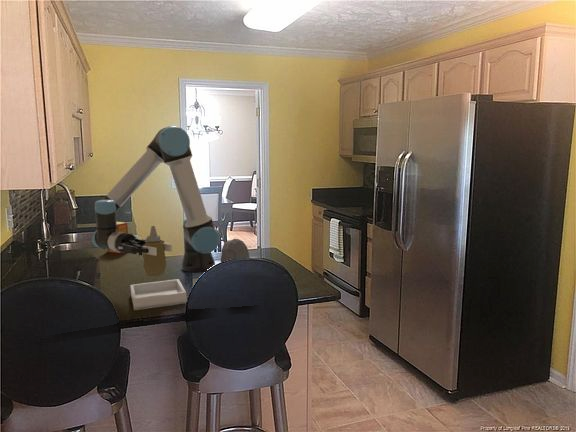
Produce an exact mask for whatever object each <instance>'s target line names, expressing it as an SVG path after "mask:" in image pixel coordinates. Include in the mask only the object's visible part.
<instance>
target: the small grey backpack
mask: <svg viewBox="0 0 576 432" xmlns="http://www.w3.org/2000/svg"><path fill="white" fill-rule="evenodd" d="M236 258H249V259H250V252H249V248H248V247H247V245H246V244H245V243H244V241H243V240H241V239H239V238H233V239H230V240H227V241H226V242H224V243H223V245H222V248H221V255H220V263H221V262H224V261H227V260H230V259H236Z"/></svg>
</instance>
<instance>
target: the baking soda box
mask: <svg viewBox="0 0 576 432" xmlns="http://www.w3.org/2000/svg"><path fill="white" fill-rule="evenodd" d="M116 224H117V232H123V233H128V234H129V231H128V230H129V229H128V223H127V222H124V221H116ZM106 250H107V249H106ZM106 252H107V253H111V254H117V255H121V254H123V253H122V252H120V253H118V251H112V250H107V251H106Z"/></svg>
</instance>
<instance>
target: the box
mask: <svg viewBox="0 0 576 432" xmlns="http://www.w3.org/2000/svg"><path fill="white" fill-rule="evenodd" d="M129 286H130V296H131V302H132V306H133V311H140V310H148V309H153V308H154V309H155V308H160V307H169V306H175V305H176V306H177V305H183V304H187V303H188V297H187V295H188V294H187V291H186V289H185V288H184V286H183V283H182V282H181V280H180V279H178V278H177V279H176V278H175V279H167V280H159V281H151V282H142V283H136V284H135V283H133V284H130V285H129ZM186 302H187V303H186Z"/></svg>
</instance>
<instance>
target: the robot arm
mask: <svg viewBox="0 0 576 432" xmlns="http://www.w3.org/2000/svg"><path fill="white" fill-rule="evenodd" d="M190 144H191V141H190V136H189V134H188V133H187V131H186V130H185V129H183V128H182V127H180V126H176V125H170V126H166V127H163V128H161V129H160V130H158V132H157V133H156V134H155V136H154V137H153V139H152V140H151V141H150V143H149V144H148V145H147V146H146V151H145V152H144V153H143V154H142V155H141V157H140V158H139V159H138V160H137V161H136V162H135V163H134V164H133V165H132V166H131V167H130V169H129V170H128V171H127V172H126V173H125V174H124V175H123V176H122V178H120V179H119V181H118V182H116V184H115V185H114V186H113V187H112V188H111V190H110V191H109V192H108V193H107V194H106V195H105V197H103V198H102V199H99V200H96V201H95V202H94V213H95V222H96V223H95V226H96V228H95V229H96V230H95V231H94V232H93V233H92V236H91V241H92V242H91V243H92V244H93V245H94V246H95V247H96V248H99V249H102V250H112V251H118V253H120V252H122V253H121V254H132V255H137V254H138V256H143V255H144V254H149V255H154V256H156V255H157V249H156V248H155V247H150V246H145V243H146V242H148V241H147V237H146V238H145V239H142V238H141V239H140V238H137V237H136V236H135V235H134V234H132V233H129V232H128V233H123V232H117V224H116V222H117V212H118V211H119V210H120V209H121V207H122V206H123V205H124V204H125V203H126V202H127V201H128V200H129V198H130V197H131V196H133V195H134V193H135V192H136V191H137V190H138V189H139V188H140V186H141V185H142V184H143V183H144V182H145V181H146V180H147V179H148V178H149V177H150V175H151V174H152V173H153V172H154V171H155V170H156V169H157V168H158V167H159V165H161V164H162V163H164V164H165V165H167V166H168V167H169V168H170V172H171V175H172V179H173V181H174V184H175V187H176V191H177V193H178V197H179V200H180V204H181V207H182V209H183V213H184V215H185V218H186V219H184V220H183V223H182V228H183V245H184V254H183V258H182V261H181V270H182V271H183V272H187V273H203V272H207V271H206V270H207V269H209V268H210V267H212V266H213V265H215V266H216V262H215V259H214V257H213V254H212V253H213V252H214V251H215V250H216V249H218V248H217V247H218V246H219V244H220V240H221V238H220V234H219V232H218V230H217V229H216V228H215V224H214V221H213V217H212V216H210V215H208V214H207V211H206V210H207V209H206V208H205V204H204V201H203V198H202V195H201V191H200V189H199V185H198V182H197V179H196V176H195V173H194V168H193V166H192V165H193V164H192V163H191V159H192V157H193V153H192V149H191V147H190V146H191V145H190ZM160 241H162V242H163V245H164V252H170V253H171V252H173V243H168V242H165V240H162V239H160Z"/></svg>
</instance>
